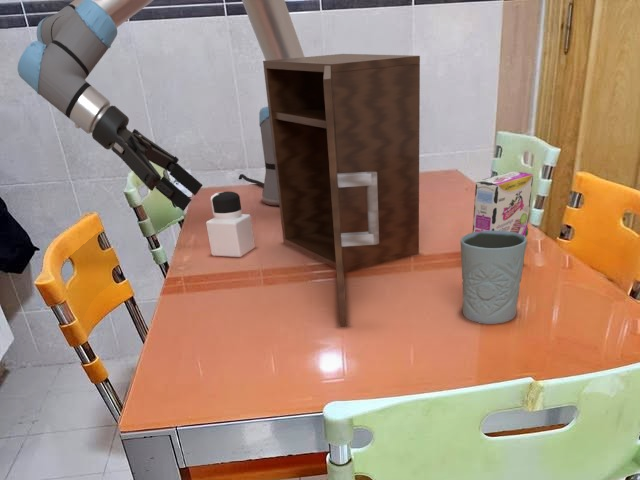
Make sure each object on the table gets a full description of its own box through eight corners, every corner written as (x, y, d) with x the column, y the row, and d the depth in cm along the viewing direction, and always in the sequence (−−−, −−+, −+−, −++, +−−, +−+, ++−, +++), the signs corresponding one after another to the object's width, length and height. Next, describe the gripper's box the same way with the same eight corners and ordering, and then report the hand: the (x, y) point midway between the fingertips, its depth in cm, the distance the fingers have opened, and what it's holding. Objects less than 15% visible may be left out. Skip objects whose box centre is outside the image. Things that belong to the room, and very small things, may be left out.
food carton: (490, 280, 119) (497, 184, 109) (468, 275, 122) (473, 181, 112) (525, 265, 125) (534, 172, 115) (503, 260, 128) (511, 169, 118)
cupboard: (344, 273, 126) (331, 64, 106) (283, 243, 145) (262, 60, 124) (418, 254, 133) (420, 55, 113) (352, 228, 152) (342, 53, 132)
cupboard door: (373, 271, 126) (365, 63, 106) (382, 323, 104) (375, 75, 84) (338, 273, 126) (324, 65, 106) (340, 326, 104) (323, 78, 84)
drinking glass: (481, 330, 101) (486, 252, 94) (445, 310, 108) (447, 236, 101) (532, 316, 104) (541, 240, 97) (494, 298, 112) (499, 225, 105)
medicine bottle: (255, 247, 143) (247, 189, 136) (240, 257, 137) (231, 197, 130) (227, 246, 145) (217, 189, 138) (211, 256, 140) (200, 196, 133)
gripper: (109, 127, 137) (193, 198, 146) (70, 146, 117) (171, 227, 126) (127, 96, 134) (212, 171, 143) (91, 111, 114) (193, 197, 123)
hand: (193, 197), depth 134 cm, fingers open, 13 cm apart
